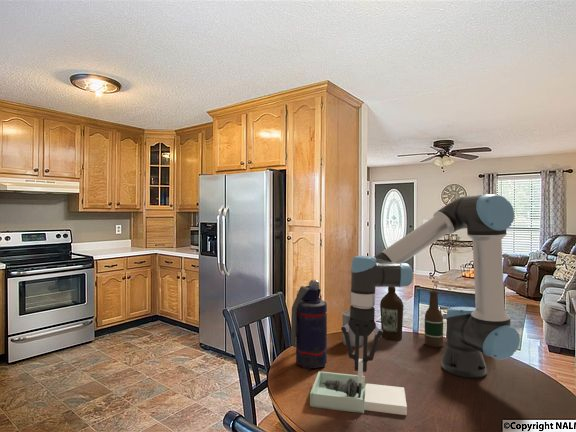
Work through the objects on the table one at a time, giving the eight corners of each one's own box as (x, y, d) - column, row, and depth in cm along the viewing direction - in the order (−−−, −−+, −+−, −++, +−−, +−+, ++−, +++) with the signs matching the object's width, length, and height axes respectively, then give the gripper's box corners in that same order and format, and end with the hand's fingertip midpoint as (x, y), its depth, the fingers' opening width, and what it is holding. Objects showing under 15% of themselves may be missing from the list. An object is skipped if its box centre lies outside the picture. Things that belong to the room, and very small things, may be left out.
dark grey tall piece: (361, 377, 117) (323, 371, 119) (361, 383, 111) (322, 376, 113) (359, 396, 116) (321, 389, 118) (359, 403, 110) (320, 396, 112)
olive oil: (383, 332, 179) (383, 281, 179) (405, 336, 174) (405, 283, 173) (377, 339, 169) (377, 285, 169) (400, 342, 164) (400, 287, 164)
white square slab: (404, 395, 117) (404, 387, 117) (406, 415, 105) (406, 406, 105) (365, 390, 119) (365, 383, 119) (364, 409, 108) (364, 401, 108)
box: (366, 388, 121) (366, 376, 121) (364, 413, 106) (364, 399, 106) (318, 382, 125) (318, 371, 125) (310, 406, 110) (310, 393, 110)
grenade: (318, 356, 148) (318, 283, 148) (332, 368, 137) (332, 288, 137) (286, 361, 143) (286, 285, 143) (298, 374, 132) (298, 291, 132)
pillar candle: (352, 338, 171) (351, 306, 171) (369, 343, 163) (368, 310, 163) (338, 343, 165) (337, 310, 164) (354, 349, 157) (354, 314, 157)
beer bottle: (444, 343, 163) (444, 290, 163) (441, 349, 157) (441, 293, 157) (426, 340, 168) (426, 288, 167) (422, 345, 161) (422, 291, 161)
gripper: (383, 304, 116) (381, 379, 115) (342, 301, 119) (340, 373, 119) (384, 310, 108) (381, 389, 108) (340, 306, 111) (338, 383, 111)
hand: (360, 381), depth 113 cm, fingers closed
